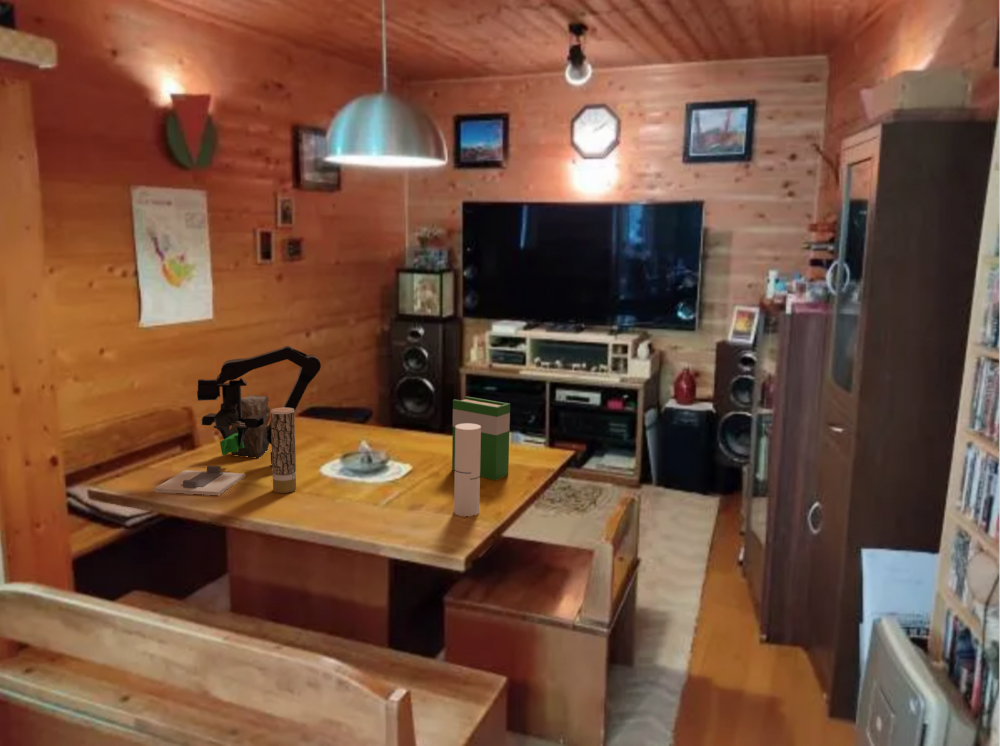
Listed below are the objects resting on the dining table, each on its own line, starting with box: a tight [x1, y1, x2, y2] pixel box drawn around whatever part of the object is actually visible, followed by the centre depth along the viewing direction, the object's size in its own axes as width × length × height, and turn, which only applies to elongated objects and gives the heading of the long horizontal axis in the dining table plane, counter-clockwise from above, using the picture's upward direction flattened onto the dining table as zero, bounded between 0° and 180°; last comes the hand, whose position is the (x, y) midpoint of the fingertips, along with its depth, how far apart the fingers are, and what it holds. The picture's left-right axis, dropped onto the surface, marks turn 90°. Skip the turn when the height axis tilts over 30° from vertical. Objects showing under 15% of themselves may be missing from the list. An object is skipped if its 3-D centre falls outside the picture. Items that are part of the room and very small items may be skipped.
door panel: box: [153, 465, 246, 496], centre depth 233 cm, size 20×18×3 cm
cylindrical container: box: [453, 423, 481, 517], centre depth 213 cm, size 7×7×25 cm
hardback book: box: [451, 396, 511, 481], centre depth 250 cm, size 18×7×24 cm, turn 56°
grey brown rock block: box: [230, 394, 271, 459], centre depth 267 cm, size 13×13×20 cm
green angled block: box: [219, 433, 244, 456], centre depth 248 cm, size 11×4×5 cm, turn 174°
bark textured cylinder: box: [270, 406, 297, 494], centre depth 228 cm, size 7×7×25 cm
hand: (233, 445), depth 249 cm, fingers closed on green angled block, 4 cm apart
